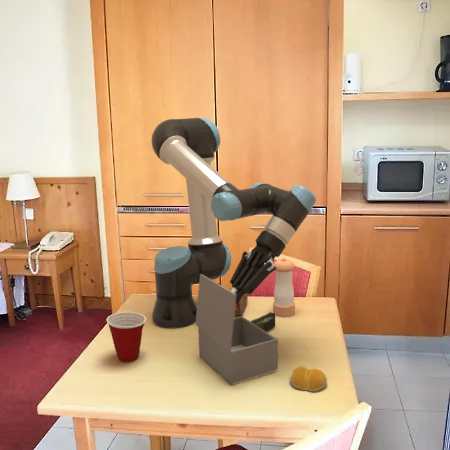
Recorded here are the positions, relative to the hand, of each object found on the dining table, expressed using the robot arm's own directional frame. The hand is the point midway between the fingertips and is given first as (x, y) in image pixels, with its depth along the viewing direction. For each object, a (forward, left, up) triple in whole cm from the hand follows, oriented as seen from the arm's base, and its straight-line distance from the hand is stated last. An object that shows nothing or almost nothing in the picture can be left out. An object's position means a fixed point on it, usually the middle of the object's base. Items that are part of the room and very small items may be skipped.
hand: (223, 311), depth 132 cm
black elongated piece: (-15, +20, -17) cm, 30 cm away
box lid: (-2, -1, 0) cm, 2 cm away
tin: (-34, +25, -17) cm, 45 cm away
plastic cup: (-21, -19, -17) cm, 33 cm away
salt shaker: (-24, +36, -17) cm, 46 cm away
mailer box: (-2, +5, -17) cm, 17 cm away
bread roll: (+16, +15, -17) cm, 28 cm away
